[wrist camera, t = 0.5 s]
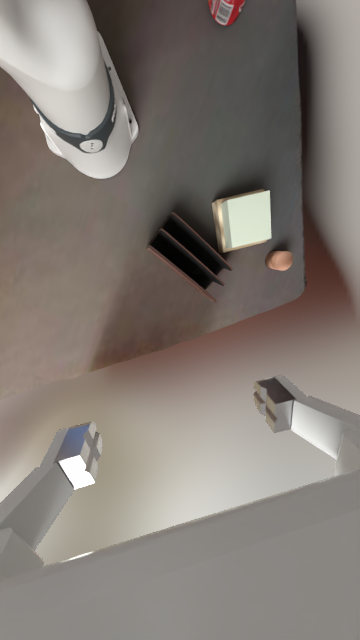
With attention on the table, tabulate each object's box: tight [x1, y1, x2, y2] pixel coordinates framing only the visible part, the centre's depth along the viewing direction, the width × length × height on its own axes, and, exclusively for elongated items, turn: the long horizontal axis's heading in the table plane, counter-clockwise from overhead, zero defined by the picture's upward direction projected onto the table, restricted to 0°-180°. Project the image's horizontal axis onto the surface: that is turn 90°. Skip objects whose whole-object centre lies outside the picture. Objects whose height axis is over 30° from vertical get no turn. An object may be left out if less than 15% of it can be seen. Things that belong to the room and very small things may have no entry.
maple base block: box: [212, 189, 266, 253], centre depth 48 cm, size 12×12×4 cm
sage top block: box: [221, 190, 271, 248], centre depth 45 cm, size 10×10×4 cm
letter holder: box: [147, 212, 233, 303], centre depth 45 cm, size 10×20×14 cm, turn 51°
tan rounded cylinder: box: [265, 251, 293, 270], centre depth 53 cm, size 5×5×5 cm
